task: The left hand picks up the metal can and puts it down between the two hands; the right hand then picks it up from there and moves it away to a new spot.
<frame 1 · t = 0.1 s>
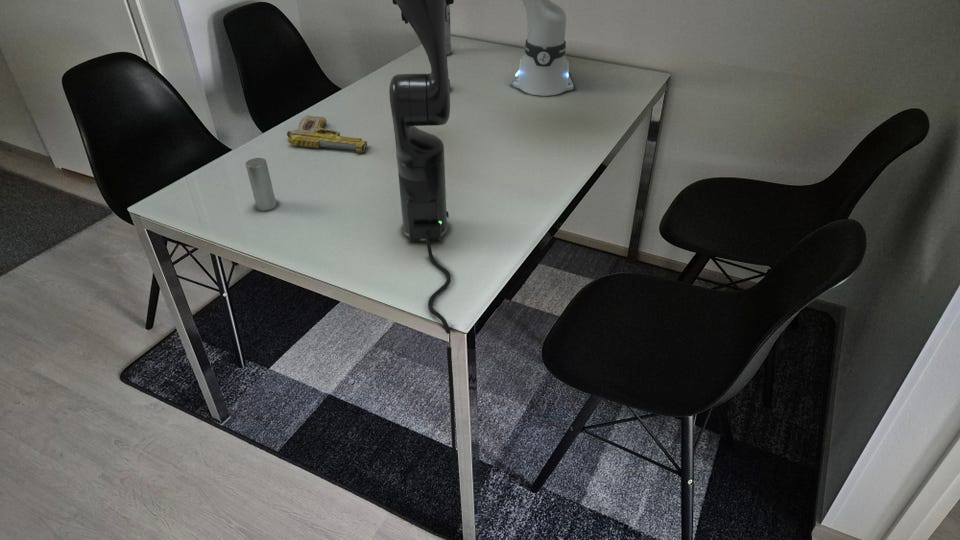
left hand: (424, 22, 150), 29 cm above the table, tool pointing down, fingers open, 8 cm apart
duct tape: (440, 90, 192), on the table
spray paint can: (441, 53, 218), on the table
handgun: (333, 138, 166), on the table
can: (266, 205, 140), on the table
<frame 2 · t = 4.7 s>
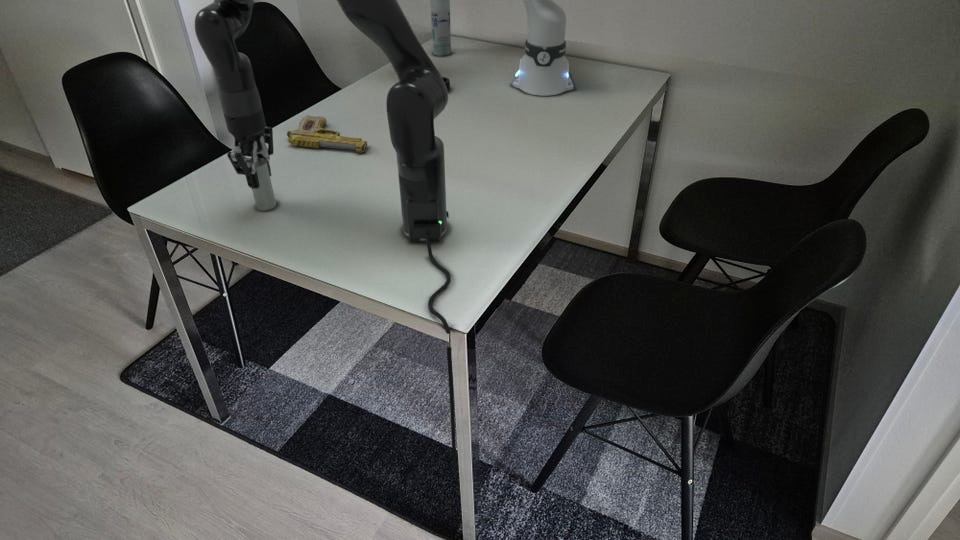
left hand: (260, 181, 136), 6 cm above the table, tool pointing down, fingers closed on can, 4 cm apart
can: (266, 205, 140), on the table, touching left hand
everything else where it was.
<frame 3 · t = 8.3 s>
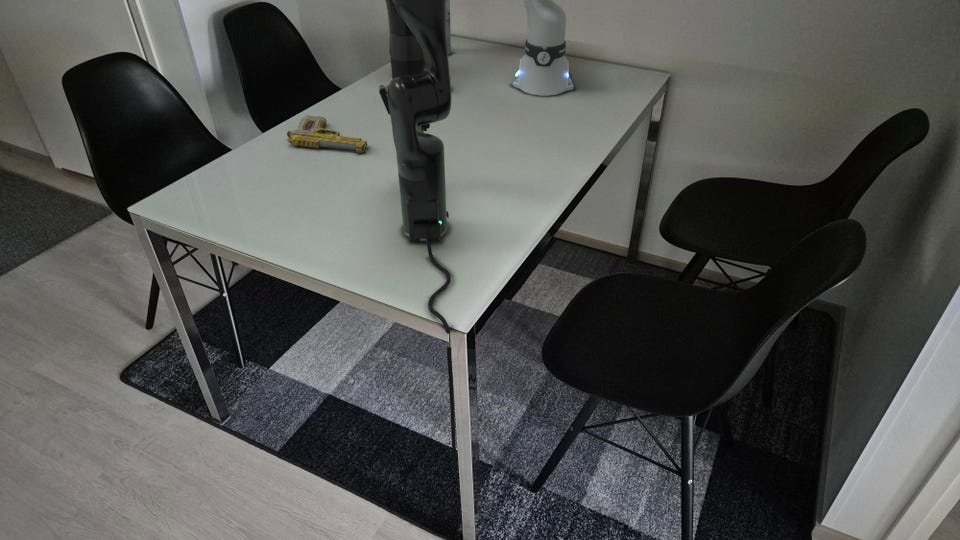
left hand: (413, 130, 139), 14 cm above the table, tool pointing down, fingers closed on can, 4 cm apart
can: (415, 154, 143), point 8 cm above the table, touching left hand
everything else where it was.
when the left hand's fingers open (8 cm above the table, at t = 11.9 s): can drops 2 cm, on the table.
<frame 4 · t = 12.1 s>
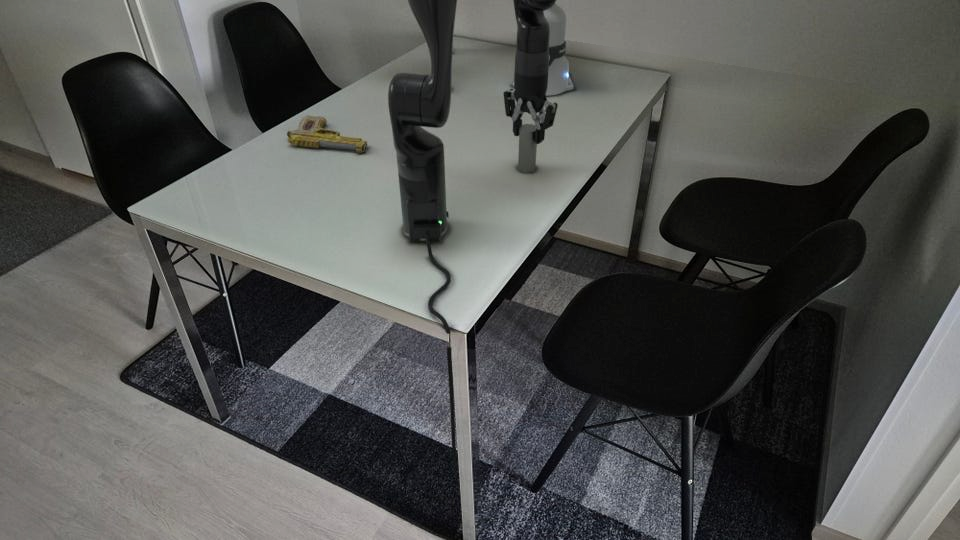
left hand: (528, 138, 149), 8 cm above the table, tool pointing down, fingers open, 5 cm apart
can: (526, 168, 153), on the table
everything else where it was.
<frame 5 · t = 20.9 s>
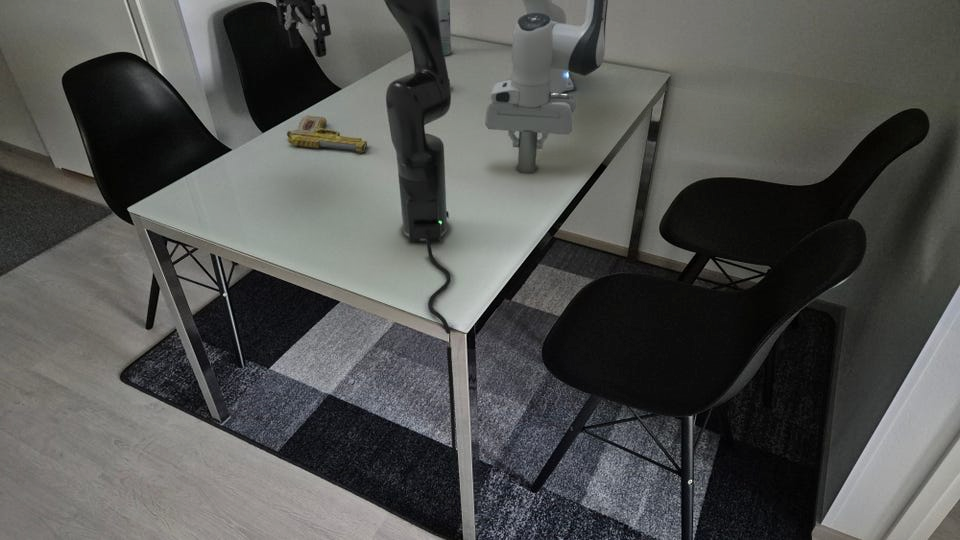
left hand: (308, 51, 132), 30 cm above the table, tool pointing down, fingers open, 8 cm apart
right hand: (527, 147, 150), 6 cm above the table, tool pointing down, fingers closed on can, 4 cm apart
can: (526, 168, 153), on the table, touching right hand
everything else where it was.
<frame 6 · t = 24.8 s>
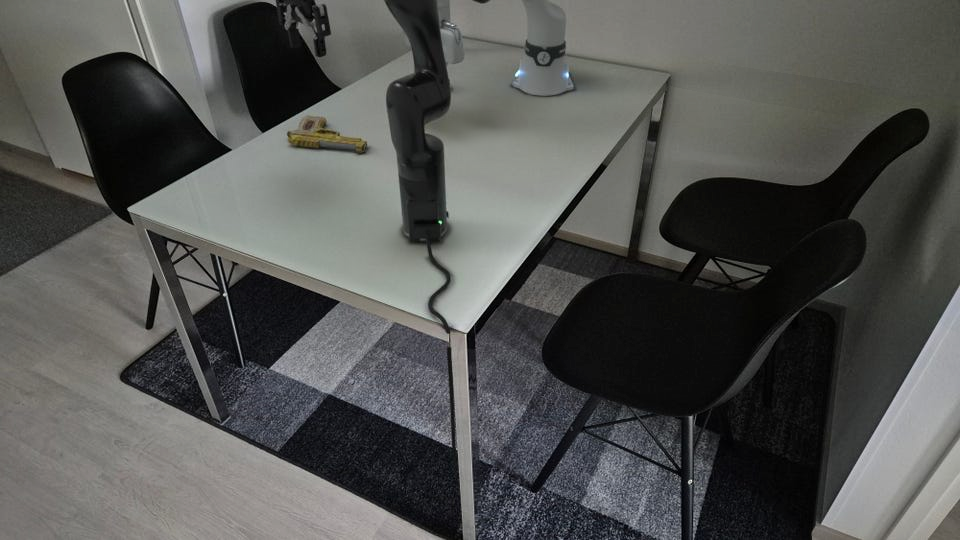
left hand: (308, 51, 132), 30 cm above the table, tool pointing down, fingers open, 8 cm apart
right hand: (434, 71, 162), 15 cm above the table, tool pointing down, fingers closed on can, 4 cm apart
can: (435, 92, 166), point 10 cm above the table, touching right hand
everything else where it was.
when the right hand's fingers open (7 cm above the table, at t = 28.9 s): can drops 2 cm, on the table.
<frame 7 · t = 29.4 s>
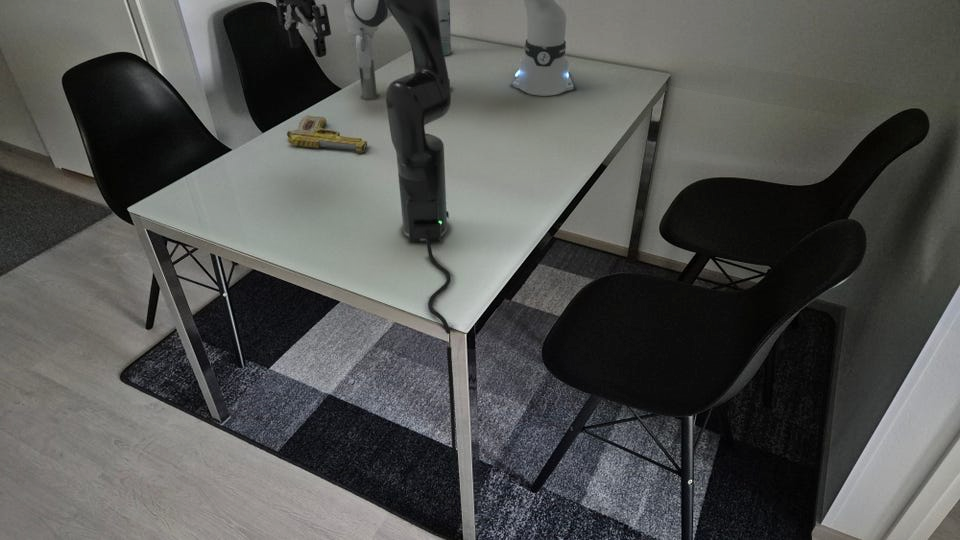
left hand: (308, 51, 132), 30 cm above the table, tool pointing down, fingers open, 8 cm apart
right hand: (367, 72, 184), 7 cm above the table, tool pointing down, fingers open, 8 cm apart
can: (370, 96, 189), on the table
everything else where it was.
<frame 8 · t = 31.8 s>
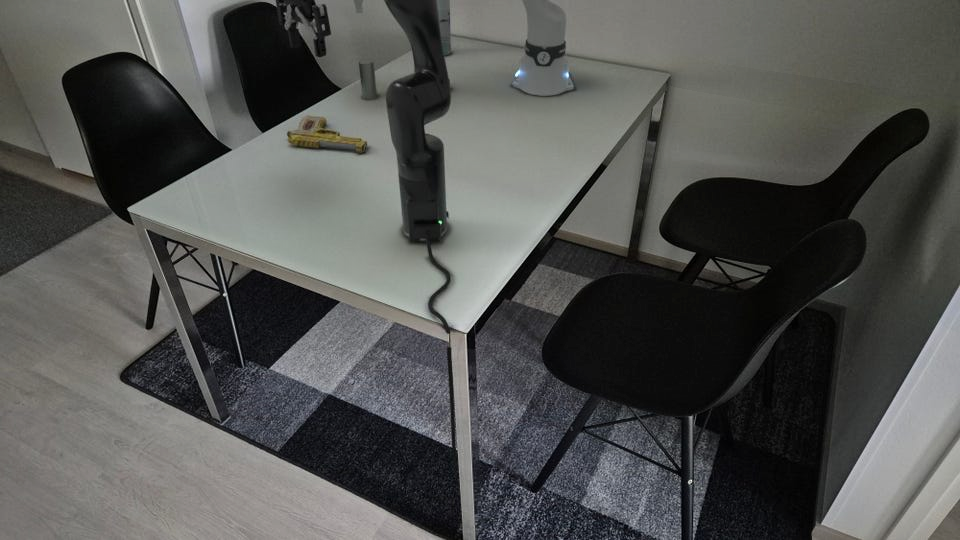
left hand: (308, 51, 132), 30 cm above the table, tool pointing down, fingers open, 8 cm apart
right hand: (359, 7, 173), 26 cm above the table, tool pointing down, fingers open, 8 cm apart
nothing on the table moved.
at the end: can inside the target area (0.0 cm from its centre), on the table; can tilted 0°; the two hands never held the can at the same time; the left hand is holding nothing; the right hand is holding nothing; can at rest at the end (0.0 cm/s) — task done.
